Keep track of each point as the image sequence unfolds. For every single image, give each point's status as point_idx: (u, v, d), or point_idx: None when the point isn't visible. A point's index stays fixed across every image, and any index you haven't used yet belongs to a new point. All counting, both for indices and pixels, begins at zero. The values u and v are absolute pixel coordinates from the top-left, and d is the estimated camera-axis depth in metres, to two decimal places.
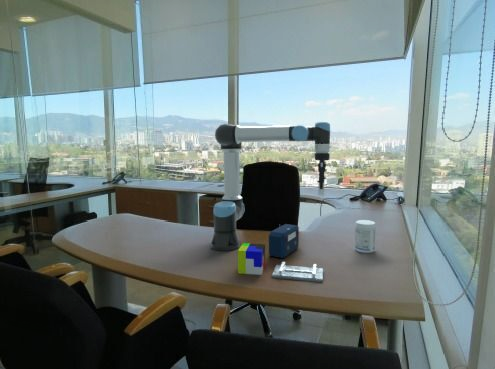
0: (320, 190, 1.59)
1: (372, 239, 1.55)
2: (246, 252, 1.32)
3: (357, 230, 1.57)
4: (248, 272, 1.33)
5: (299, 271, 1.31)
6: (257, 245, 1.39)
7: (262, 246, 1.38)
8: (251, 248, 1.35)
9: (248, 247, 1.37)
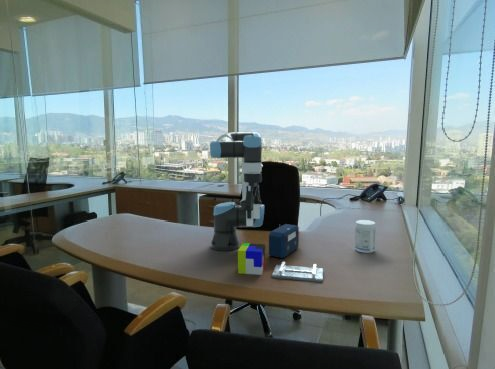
0: (248, 220, 1.29)
1: (372, 239, 1.55)
2: (246, 252, 1.32)
3: (357, 230, 1.57)
4: (248, 272, 1.33)
5: (299, 271, 1.31)
6: (257, 245, 1.39)
7: (262, 246, 1.38)
8: (251, 248, 1.35)
9: (248, 247, 1.37)
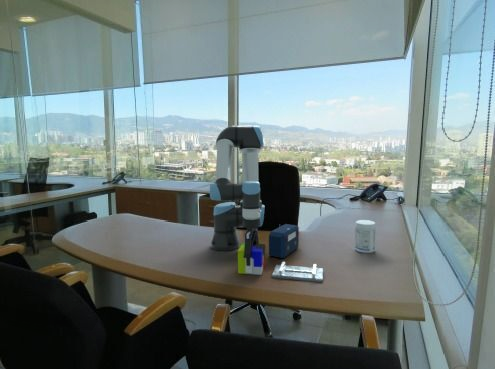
0: (247, 266, 1.32)
1: (372, 239, 1.55)
2: None
3: (357, 230, 1.57)
4: None
5: (299, 271, 1.31)
6: (257, 245, 1.39)
7: (262, 245, 1.38)
8: None
9: None
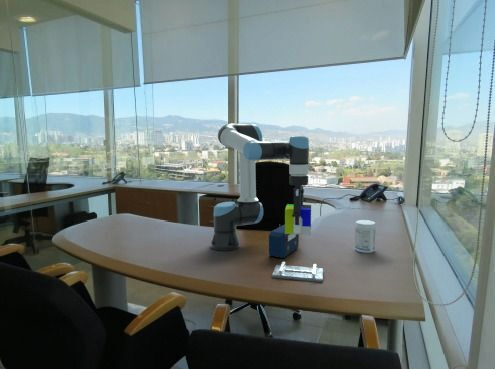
0: (296, 226, 1.24)
1: (372, 239, 1.55)
2: None
3: (357, 230, 1.57)
4: None
5: (299, 271, 1.31)
6: (304, 205, 1.30)
7: (309, 206, 1.30)
8: None
9: None
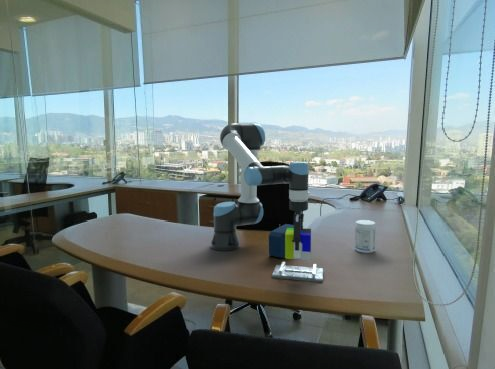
0: (296, 251, 1.25)
1: (372, 239, 1.55)
2: None
3: (357, 230, 1.57)
4: None
5: (299, 271, 1.31)
6: (304, 230, 1.32)
7: (309, 230, 1.31)
8: None
9: None
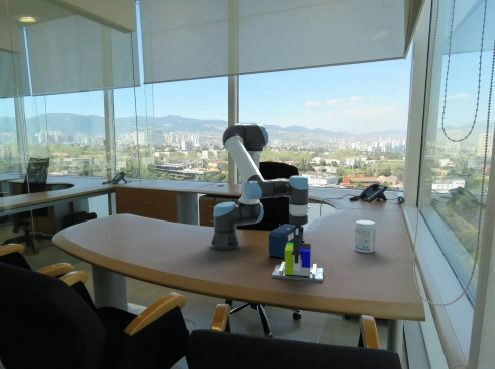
0: (295, 264, 1.24)
1: (372, 239, 1.55)
2: None
3: (357, 230, 1.57)
4: (295, 273, 1.27)
5: None
6: (303, 245, 1.33)
7: (309, 245, 1.32)
8: None
9: None
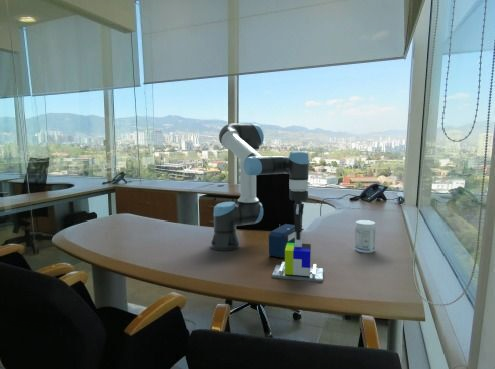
0: (297, 241, 1.30)
1: (372, 239, 1.55)
2: (294, 252, 1.26)
3: (357, 230, 1.57)
4: (295, 273, 1.27)
5: None
6: (303, 245, 1.33)
7: (309, 245, 1.32)
8: (298, 248, 1.29)
9: (294, 246, 1.31)
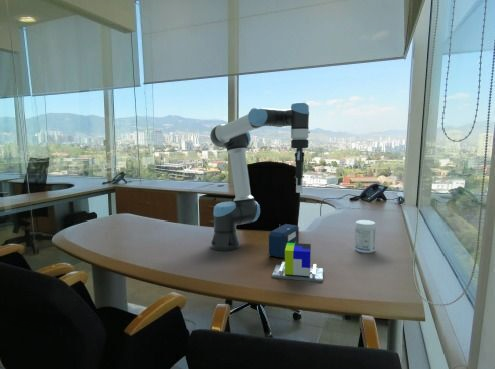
0: (298, 187, 1.41)
1: (372, 239, 1.55)
2: (294, 252, 1.26)
3: (357, 230, 1.57)
4: (295, 273, 1.27)
5: None
6: (303, 245, 1.33)
7: (309, 245, 1.32)
8: (298, 248, 1.29)
9: (294, 246, 1.31)
